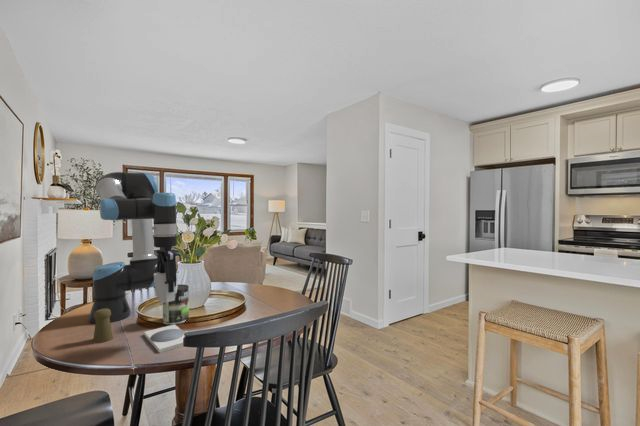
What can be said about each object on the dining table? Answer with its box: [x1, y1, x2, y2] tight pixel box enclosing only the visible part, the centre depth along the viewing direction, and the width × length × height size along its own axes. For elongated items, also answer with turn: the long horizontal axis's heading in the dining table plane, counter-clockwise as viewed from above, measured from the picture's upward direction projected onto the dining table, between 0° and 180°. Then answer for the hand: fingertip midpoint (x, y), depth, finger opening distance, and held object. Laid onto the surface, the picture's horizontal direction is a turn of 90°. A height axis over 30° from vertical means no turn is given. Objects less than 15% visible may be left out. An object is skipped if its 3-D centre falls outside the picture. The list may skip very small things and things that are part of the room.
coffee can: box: [162, 284, 190, 326], centre depth 135 cm, size 10×10×14 cm
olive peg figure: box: [92, 309, 114, 344], centre depth 116 cm, size 6×6×11 cm
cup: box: [154, 270, 179, 304], centre depth 115 cm, size 8×8×10 cm
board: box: [143, 324, 186, 353], centre depth 116 cm, size 20×11×2 cm, turn 42°
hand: (166, 298), depth 115 cm, fingers closed on cup, 8 cm apart
